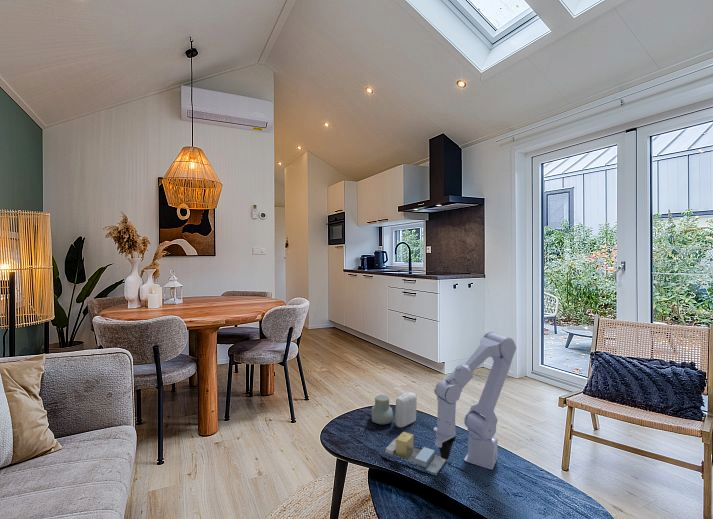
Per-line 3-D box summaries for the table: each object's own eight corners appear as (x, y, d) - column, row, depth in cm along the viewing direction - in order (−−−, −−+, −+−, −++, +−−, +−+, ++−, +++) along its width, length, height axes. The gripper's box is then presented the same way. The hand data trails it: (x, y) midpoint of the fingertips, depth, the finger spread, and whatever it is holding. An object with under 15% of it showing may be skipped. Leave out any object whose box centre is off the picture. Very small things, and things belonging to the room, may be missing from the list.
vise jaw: (434, 455, 137) (434, 450, 137) (426, 467, 130) (426, 461, 130) (423, 452, 139) (423, 446, 139) (414, 463, 132) (414, 458, 132)
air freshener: (371, 414, 169) (371, 392, 168) (390, 415, 169) (391, 392, 168) (372, 427, 158) (372, 403, 157) (392, 428, 158) (393, 403, 157)
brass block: (413, 450, 140) (413, 434, 140) (406, 459, 135) (406, 442, 134) (402, 447, 142) (403, 431, 142) (395, 455, 137) (395, 439, 137)
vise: (446, 461, 136) (446, 452, 136) (436, 476, 127) (436, 467, 127) (394, 444, 146) (394, 436, 146) (381, 457, 138) (381, 449, 137)
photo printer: (409, 417, 167) (410, 388, 166) (417, 420, 164) (418, 391, 163) (393, 425, 160) (394, 395, 159) (401, 429, 157) (402, 399, 156)
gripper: (441, 406, 138) (440, 444, 139) (426, 424, 126) (425, 465, 127) (462, 412, 134) (460, 450, 135) (448, 430, 122) (446, 472, 123)
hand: (444, 458), depth 131 cm, fingers closed
